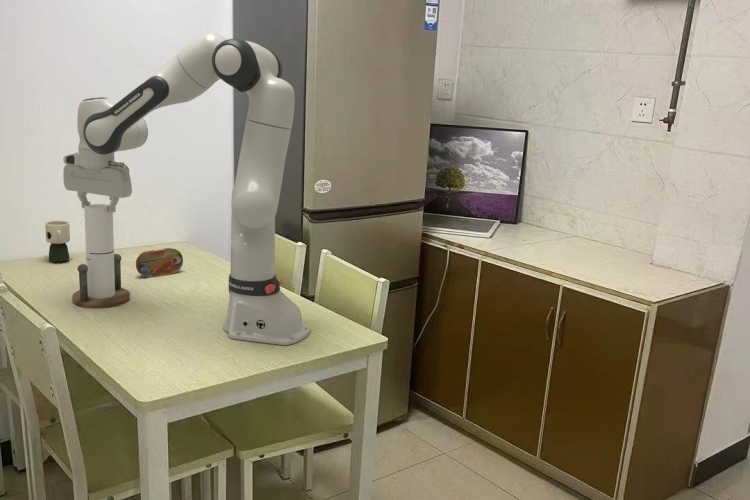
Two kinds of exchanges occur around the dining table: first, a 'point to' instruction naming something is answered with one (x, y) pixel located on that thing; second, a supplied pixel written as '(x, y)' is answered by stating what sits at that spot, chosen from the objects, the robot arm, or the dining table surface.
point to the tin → (159, 262)
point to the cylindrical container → (99, 251)
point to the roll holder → (85, 301)
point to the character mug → (58, 240)
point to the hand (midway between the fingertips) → (98, 210)
